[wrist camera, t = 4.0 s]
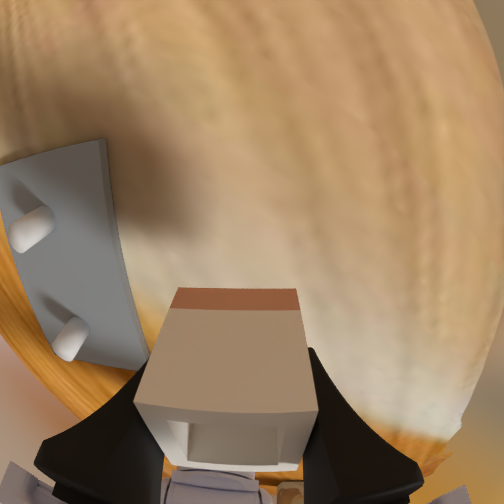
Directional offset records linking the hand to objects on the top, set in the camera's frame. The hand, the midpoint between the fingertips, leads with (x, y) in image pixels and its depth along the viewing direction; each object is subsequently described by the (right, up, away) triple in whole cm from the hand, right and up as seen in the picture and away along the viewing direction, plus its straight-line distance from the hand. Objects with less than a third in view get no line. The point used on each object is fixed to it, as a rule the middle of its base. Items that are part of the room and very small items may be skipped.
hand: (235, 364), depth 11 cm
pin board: (-15, +3, +9) cm, 17 cm away
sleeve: (0, +1, +2) cm, 2 cm away
